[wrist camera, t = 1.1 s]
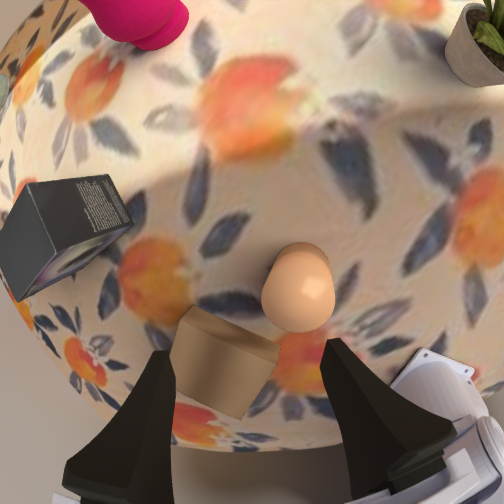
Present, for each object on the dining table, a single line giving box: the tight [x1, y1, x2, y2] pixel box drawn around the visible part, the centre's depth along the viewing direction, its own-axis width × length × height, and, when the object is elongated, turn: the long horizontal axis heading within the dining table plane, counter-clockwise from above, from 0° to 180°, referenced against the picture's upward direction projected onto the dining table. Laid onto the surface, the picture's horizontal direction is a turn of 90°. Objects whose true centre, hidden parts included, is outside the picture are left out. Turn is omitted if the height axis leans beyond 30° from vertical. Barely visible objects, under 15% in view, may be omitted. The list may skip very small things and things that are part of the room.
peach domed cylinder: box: [261, 242, 335, 333], centre depth 20 cm, size 5×5×6 cm
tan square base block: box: [169, 305, 281, 420], centre depth 25 cm, size 9×9×3 cm
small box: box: [0, 174, 134, 303], centre depth 21 cm, size 11×6×10 cm, turn 121°
